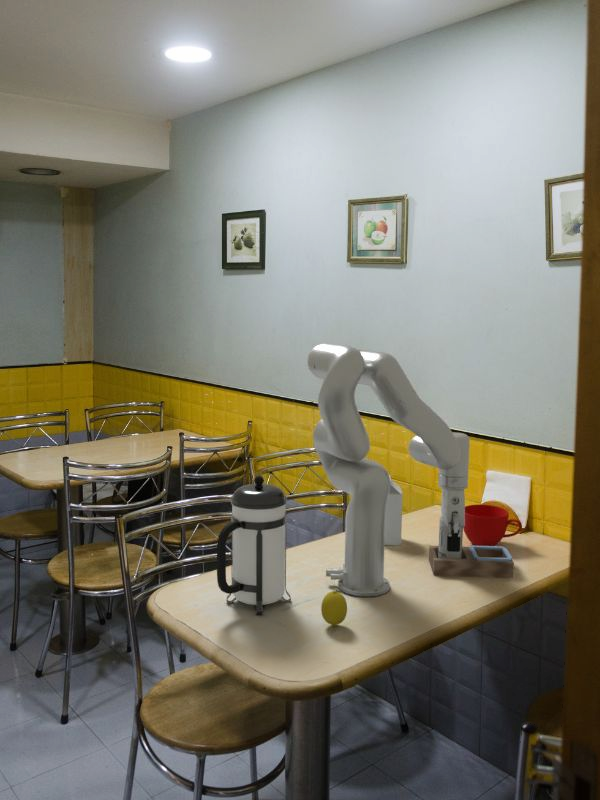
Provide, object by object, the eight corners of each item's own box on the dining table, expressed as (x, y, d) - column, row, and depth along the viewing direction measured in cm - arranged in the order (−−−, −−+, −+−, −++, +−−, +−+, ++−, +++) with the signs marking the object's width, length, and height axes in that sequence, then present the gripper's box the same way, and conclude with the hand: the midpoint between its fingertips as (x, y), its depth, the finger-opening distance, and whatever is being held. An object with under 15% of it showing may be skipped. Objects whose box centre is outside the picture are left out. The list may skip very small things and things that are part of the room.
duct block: (433, 575, 188) (434, 558, 187) (428, 559, 199) (429, 543, 198) (513, 577, 187) (514, 560, 186) (503, 562, 197) (504, 545, 197)
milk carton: (400, 538, 216) (402, 475, 213) (401, 546, 209) (402, 481, 206) (375, 537, 217) (377, 474, 214) (375, 545, 210) (377, 480, 207)
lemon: (319, 620, 161) (320, 586, 160) (345, 620, 161) (345, 585, 160) (322, 632, 156) (322, 596, 154) (348, 631, 156) (349, 595, 155)
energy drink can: (435, 563, 196) (437, 509, 193) (457, 563, 196) (460, 509, 194) (441, 572, 190) (443, 516, 188) (464, 572, 190) (466, 516, 188)
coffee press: (225, 588, 178) (224, 467, 174) (291, 589, 178) (292, 468, 174) (216, 620, 161) (215, 486, 156) (290, 621, 161) (291, 487, 156)
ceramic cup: (514, 558, 201) (516, 522, 199) (454, 547, 209) (455, 512, 208) (526, 544, 212) (527, 510, 210) (468, 534, 220) (469, 502, 219)
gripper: (473, 490, 181) (470, 557, 183) (462, 473, 198) (459, 534, 200) (442, 489, 181) (440, 556, 184) (434, 472, 198) (432, 533, 201)
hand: (450, 544), depth 192 cm, fingers open, 9 cm apart
